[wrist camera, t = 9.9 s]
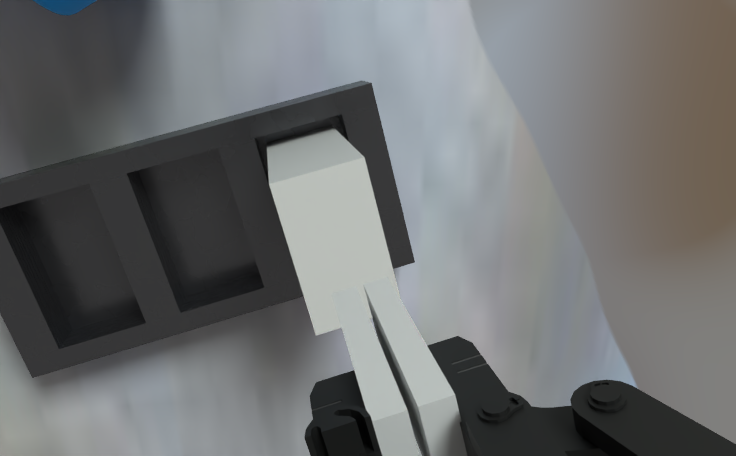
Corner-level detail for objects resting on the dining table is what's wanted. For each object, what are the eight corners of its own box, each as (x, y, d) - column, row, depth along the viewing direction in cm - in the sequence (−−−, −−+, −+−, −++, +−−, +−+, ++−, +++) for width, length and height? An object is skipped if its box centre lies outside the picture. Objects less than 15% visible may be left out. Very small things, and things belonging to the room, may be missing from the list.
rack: (-26, 185, 34) (-58, 200, 30) (361, 80, 36) (372, 83, 33) (54, 354, 37) (33, 384, 34) (403, 249, 39) (416, 267, 36)
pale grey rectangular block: (265, 143, 35) (267, 184, 24) (332, 125, 36) (365, 157, 24) (298, 251, 37) (315, 335, 26) (361, 232, 38) (404, 308, 26)
